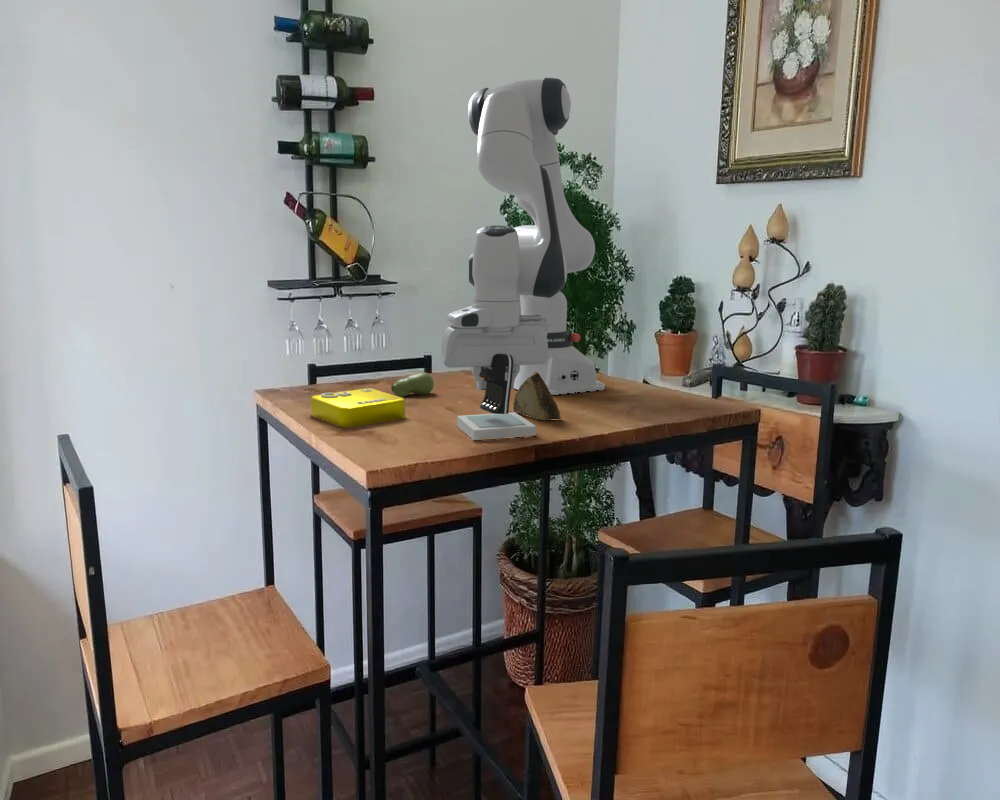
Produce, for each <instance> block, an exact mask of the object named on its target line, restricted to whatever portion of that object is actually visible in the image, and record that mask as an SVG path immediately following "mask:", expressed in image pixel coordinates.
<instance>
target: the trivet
mask: <svg viewBox="0 0 1000 800" xmlns="http://www.w3.org/2000/svg"><path fill="white" fill-rule="evenodd" d="M456 427H458V429H460V430H461V431H462V432H463V433H464V434H465V433H466V434H467V435H468V438H470V437H471V438H472V439H473V440H480V439H491V438H505V437H520V436H532V435H536V436H537V426H536V425H535V424H534V423H532V422H530V421H529V420H527V419H526V418H524V417H523V416H522V415H521V414H519V413H516V412H514V411H513V412H509V413H508V414H493V413H484V414H483V413H482V414H481V413H480V414H465V415H464V414H463V415H456ZM466 434H465V435H466ZM467 435H466V436H467ZM471 438H470V439H471ZM472 439H471V440H472ZM473 440H472V441H473Z"/></svg>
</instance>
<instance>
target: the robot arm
mask: <svg viewBox="0 0 1000 800" xmlns="http://www.w3.org/2000/svg"><path fill="white" fill-rule="evenodd" d="M571 104H572V103H571V97H570V94H569V91H568V89H567V86H566V84H565V83H564V82H563V81H562V79H560V78H556V77H544V78H543V79H524V80H523V79H521V80H516V81H514V82H510V83H504V84H500V85H496V86H493V87H490V88H489V87H485V88H481V89H479V90H477V91H475V92H474V93H473V95H472V96H471V97H470V99H469V100H468V104H467V105H468V106H467V116H468V122H469V125H470V128H471V131H472V132H473V133H474V135H476V137H477V145H476V148H477V149H476V155H477V156H476V157H477V158H476V159H477V167H478V171H479V172H480V175H481V176H482V177H483V179H484V180H485V181H486V182H487V183H488V184H489V185H491V186H492V187H493V188H495V189H497V190H499V191H501V192H502V193H506V194H508V195H511V196H514V199H515V202H516V204H517V205H518V206H519V208H521V209H523V210H524V211H525V212H527V213H528V215H529V216H530V217H531V219H532V221H533V222H534V224H525V225H519V226H515V227H512V226H508V225H489V226H483V227H480V228H478V230H476V233H475V238H474V247H473V252H472V253H471V254H470V255H469V257H468V282H469V283H470V284H471V285H472V286H473V287H474V289H473V294H472V297H471V298H472V299H471V305H470V306H469V305H468V306H467V307H463V308H460V309H458V310H455V311H452V312H450V313H448V314H447V316H446V321H447V324H448V326H447V327H446V329H445V330H444V332H443V335H442V340H441V353H440V358H441V359H440V360H441V363H442V364H443V365H444V366H445V367H447V368H449V369H451V368H452V369H453V368H454V369H455V368H470V373H471V374H472V376H473V377H474V379H475V381H476V383H475V385H476V390H477V391H486V381H485V380H484V379H482V377H480V376H479V374H480V372H481V367H483V366H491V363H492V358H493V356H494V355H495V354H509V355H511V356H512V358H513V374H512V384H511V390H512V389H515V390H517V391H518V390H519V388H520V386H521V385H522V384H523V383H524V382H525V381H526V380H527V378H529V377H530V376H531V375H532V374H533V373H534V372H537V373H539V374H540V376H541V378H542V379H543V380H544V382H545V384H546V385H547V387H548V389H549V391H550V393H551V396H558V395H559V394H561V395H568V394H567V393H570V394H578V393H577V392H580V393H587V392H586V391H590V392H597V391H596V390H599V391H604V389H606V384H604V382H602V381H600V380H598V379H597V373H596V367H595V364H594V363H593V361H592V360H591V359H589V358H588V357H587V356H586V355H585V354H583V353H582V352H580V351H579V350H578V349H577V348H576V347H575V346H573V344H574V343H578V342H580V341H581V339H582V338H581V335H580V334H579V333H576V332H573V333H572V332H571V331H569V330H567V314H568V301H567V298H566V296H565V294H564V293H563V292H562V291H561V290H563V289H564V288H565V286H566V282H567V278H568V274H572V273H577V272H580V271H584V270H586V269H587V268H589V266H590V265H591V264H592V262H593V260H594V257H595V253H596V244H595V240H594V238H593V235H592V234H591V232H590V231H589V230H588V229H586V228H585V227H584V226H583V225H581V224H580V222H579V221H578V220H577V219H576V217H575V215H574V214H573V213H572V211H571V209H570V207H569V204H568V202H567V199H566V196H565V192H564V186H563V182H562V181H563V180H562V173H561V165H560V163H561V162H560V155H559V149H558V143H557V139H556V136H557V135H558V134H559V131H560V130H561V129H563V128H564V127H565V125H566V124H567V122H568V121H569V118H570V113H571V109H572V108H571ZM575 392H576V393H575ZM559 396H560V395H559Z"/></svg>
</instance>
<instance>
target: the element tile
mask: <svg viewBox="0 0 1000 800" xmlns="http://www.w3.org/2000/svg"><path fill="white" fill-rule="evenodd" d="M310 415H311V416H312V415H313V416H316V417H318V418H320V419H323V420H325V421H324V422H326V421H328V422H330V423H329V424H331V423H333V424H335V425H334V426H336V425H338V426H337V427H339V426H341V427H340V428H354V426H356V427H361V425H362V426H366V425H372V424H378V423H384V422H385V423H386V422H392V421H396V420H397V421H399V420H402V419H406V399H405V398H404V397H398V396H396V395H395V394H392V393H388V392H384V391H382V390H378V389H374V388H371V387H370V388H362V389H361V388H360V389H353V390H346V391H345V390H344V391H336V392H324V393H323V392H322V393H321V394H315V395H312V396H311V397H310ZM313 416H312V417H313ZM318 418H317V419H318ZM320 419H319V420H320ZM323 420H322V421H323ZM328 422H327V423H328ZM333 424H332V425H333Z"/></svg>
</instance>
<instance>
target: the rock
mask: <svg viewBox="0 0 1000 800" xmlns="http://www.w3.org/2000/svg"><path fill="white" fill-rule="evenodd" d="M512 405H513V412H515V413H517V414H519V413H520V414H519V415H521V414H524V415H528V416H531V417H534V418H538V419H537V420H539V419H540V420H539V421H546V420H547V421H548V420H549V421H550V420H551V419H560V418H562V417H561V412H560V409H559V406H558V405H557V402H556V401H555V400H554V398H553V395H551V393H550V391H549V389H548V387H547V385H546V384H545V382H544V380H543V379H542V378H541V376H540V374H539V373H537V372H534V373H533V374H532V375H531V376H530V377H529V378H527V380H526V381H525V382H524V383H523V384H522V385H521V386H520V388H519V390H517V392H516V393H515V396H514V401H513V404H512ZM524 415H523V416H524ZM528 416H527V417H528ZM534 418H533V419H534Z"/></svg>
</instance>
